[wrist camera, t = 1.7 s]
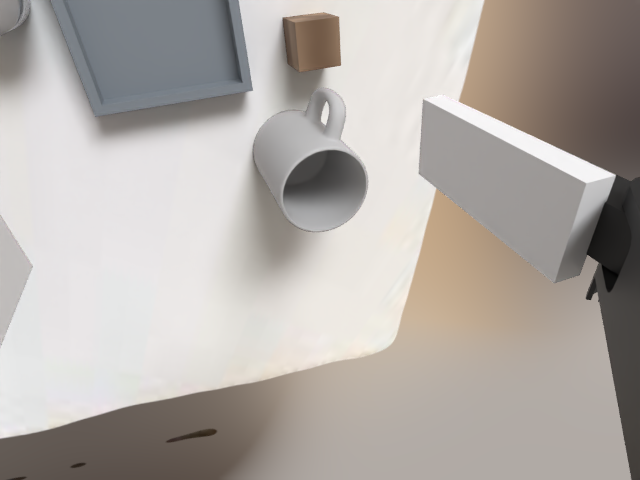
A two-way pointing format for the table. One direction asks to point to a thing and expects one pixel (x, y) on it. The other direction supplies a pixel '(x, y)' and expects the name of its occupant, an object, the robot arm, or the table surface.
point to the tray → (154, 50)
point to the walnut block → (312, 41)
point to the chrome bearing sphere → (13, 14)
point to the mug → (311, 165)
